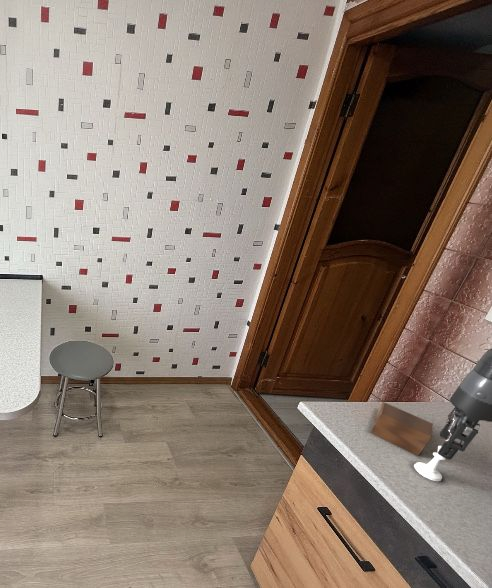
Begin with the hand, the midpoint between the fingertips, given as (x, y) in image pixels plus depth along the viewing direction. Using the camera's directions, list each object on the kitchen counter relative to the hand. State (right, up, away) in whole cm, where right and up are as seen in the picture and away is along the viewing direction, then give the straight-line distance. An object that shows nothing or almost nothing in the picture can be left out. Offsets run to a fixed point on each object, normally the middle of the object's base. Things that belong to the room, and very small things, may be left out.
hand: (444, 446), depth 78 cm
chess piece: (-1, -8, +3) cm, 9 cm away
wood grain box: (+4, -3, +16) cm, 16 cm away
